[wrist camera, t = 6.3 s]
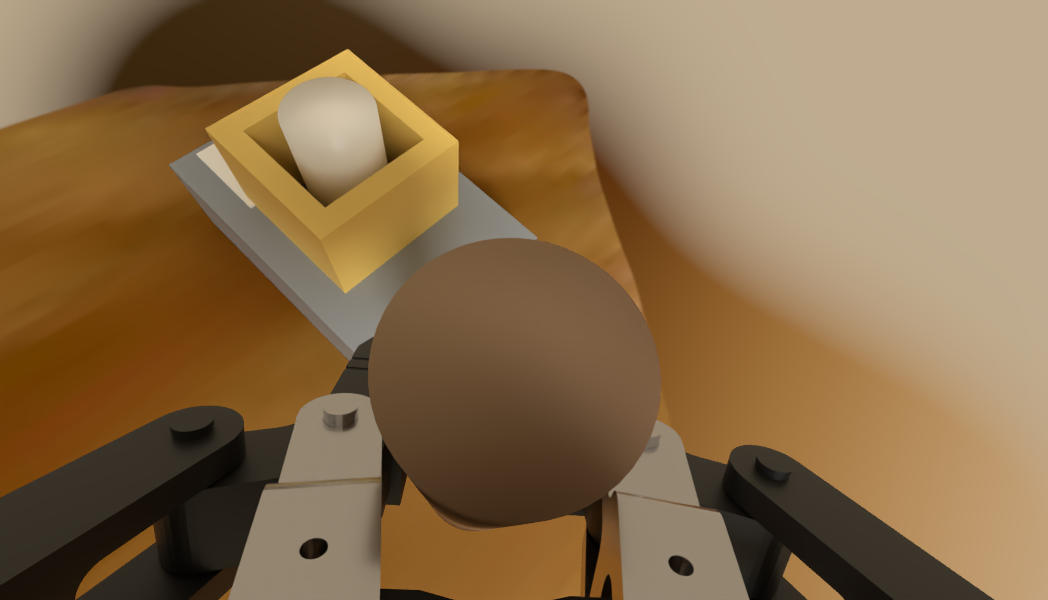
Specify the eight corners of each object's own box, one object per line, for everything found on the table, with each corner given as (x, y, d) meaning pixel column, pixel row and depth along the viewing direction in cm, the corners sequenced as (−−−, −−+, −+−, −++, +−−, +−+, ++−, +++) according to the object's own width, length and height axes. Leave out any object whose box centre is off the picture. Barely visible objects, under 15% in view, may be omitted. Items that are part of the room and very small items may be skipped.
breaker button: (302, 204, 30) (256, 108, 23) (361, 164, 32) (335, 63, 25) (352, 252, 29) (320, 165, 22) (410, 208, 31) (397, 115, 24)
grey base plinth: (213, 222, 35) (109, 89, 24) (354, 132, 39) (317, -12, 29) (392, 405, 31) (360, 340, 21) (525, 282, 36) (552, 179, 25)
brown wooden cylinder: (404, 478, 16) (302, 363, 5) (476, 406, 17) (512, 193, 7) (476, 554, 15) (527, 603, 5) (545, 474, 17) (714, 362, 6)
